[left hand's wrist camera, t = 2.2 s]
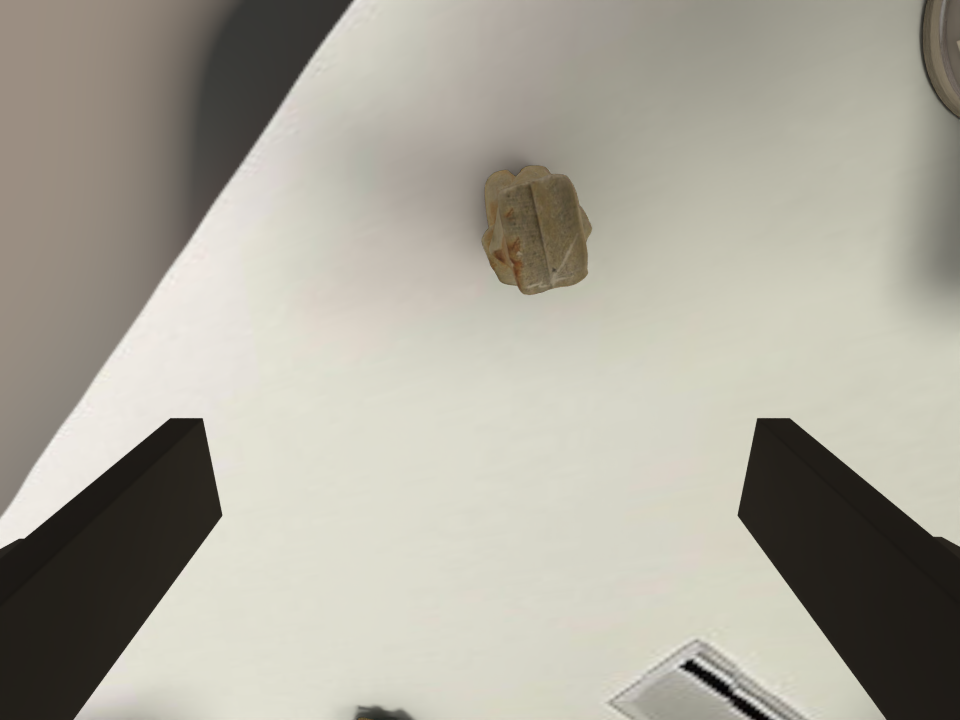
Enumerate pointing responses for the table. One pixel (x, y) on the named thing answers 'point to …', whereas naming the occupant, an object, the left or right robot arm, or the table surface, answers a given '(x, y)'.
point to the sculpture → (535, 230)
